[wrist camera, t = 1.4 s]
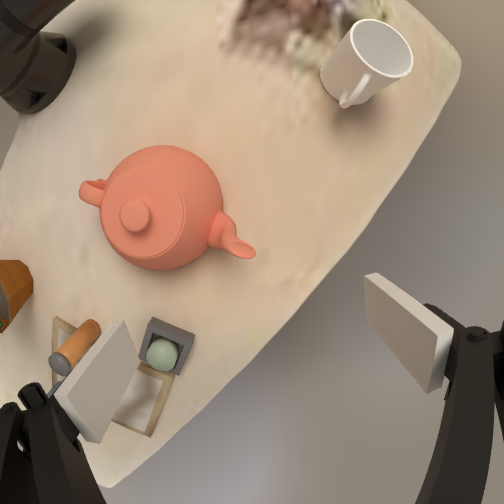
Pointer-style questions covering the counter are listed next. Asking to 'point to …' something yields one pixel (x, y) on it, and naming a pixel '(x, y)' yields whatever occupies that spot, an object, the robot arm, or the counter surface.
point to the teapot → (163, 209)
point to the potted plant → (13, 289)
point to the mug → (365, 62)
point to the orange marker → (74, 347)
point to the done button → (162, 354)
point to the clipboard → (137, 393)
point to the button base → (171, 334)
